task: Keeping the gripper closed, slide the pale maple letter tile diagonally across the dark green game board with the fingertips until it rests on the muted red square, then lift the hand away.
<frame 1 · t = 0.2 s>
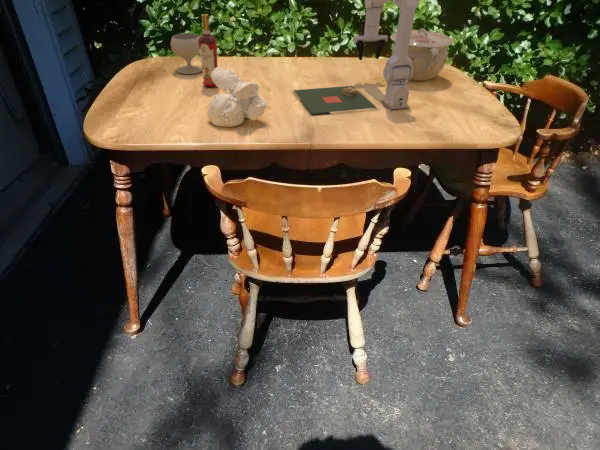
hand: (368, 58, 202), 10 cm above the table, tool pointing down, fingers open, 7 cm apart
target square: (331, 101, 187), resting on game board
letter tile: (349, 94, 192), point 1 cm above the table, touching game board
chamber pot: (415, 76, 216), on the table
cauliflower: (238, 120, 170), on the table
liquor: (211, 86, 200), on the table
chalice: (189, 71, 216), on the table
game board: (333, 100, 188), on the table
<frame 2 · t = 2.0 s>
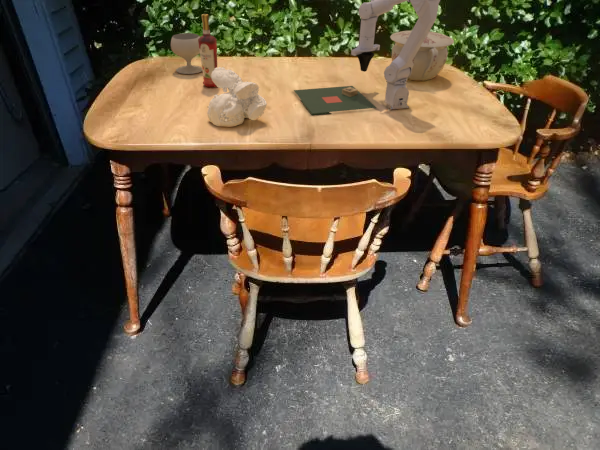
hand: (363, 70, 191), 9 cm above the table, tool pointing down, fingers closed
nothing on the table moved.
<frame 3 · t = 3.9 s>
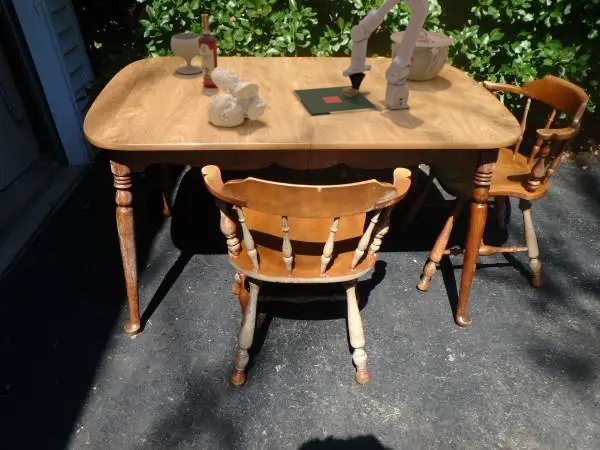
hand: (355, 90, 194), 2 cm above the table, tool pointing down, fingers closed
letter tile: (349, 94, 192), point 1 cm above the table, touching game board, gripper
everything else where it was.
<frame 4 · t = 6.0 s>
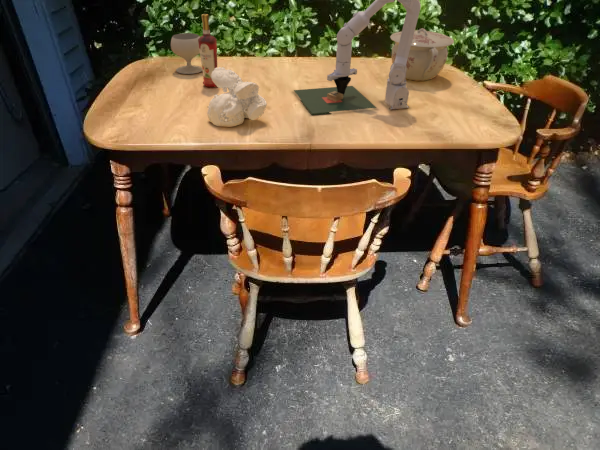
hand: (340, 95, 189), 2 cm above the table, tool pointing down, fingers closed
letter tile: (335, 98, 187), point 1 cm above the table, touching gripper
everything else where it was.
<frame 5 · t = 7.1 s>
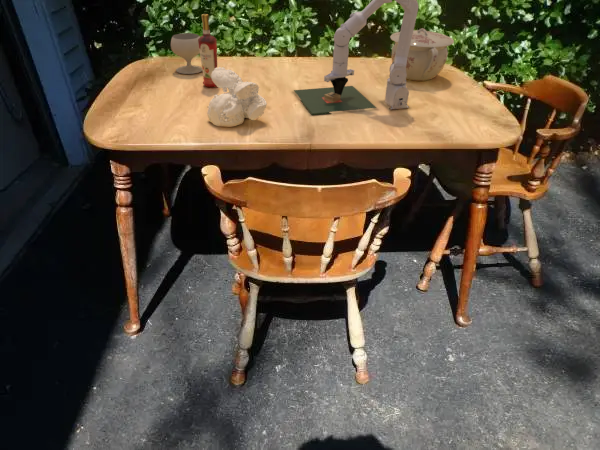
hand: (338, 96, 188), 2 cm above the table, tool pointing down, fingers closed
letter tile: (332, 99, 187), point 1 cm above the table, touching gripper, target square
everything else where it was.
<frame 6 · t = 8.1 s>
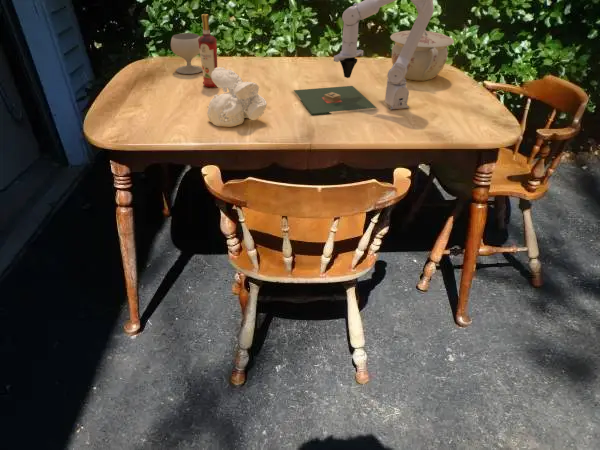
hand: (347, 77, 187), 8 cm above the table, tool pointing down, fingers closed
letter tile: (332, 99, 187), point 1 cm above the table, touching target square
everything else where it was.
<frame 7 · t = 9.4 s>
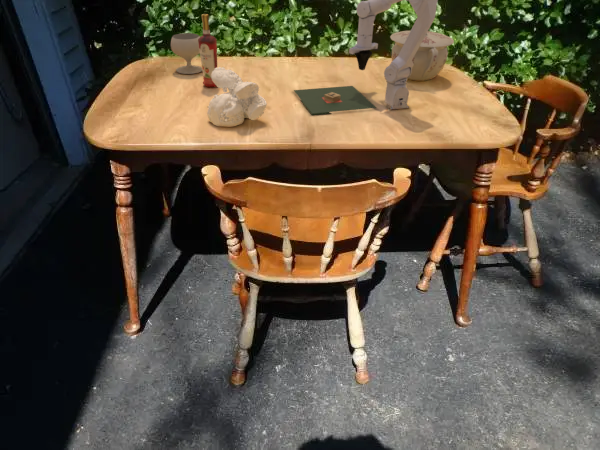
hand: (361, 69, 192), 9 cm above the table, tool pointing down, fingers closed
nothing on the table moved.
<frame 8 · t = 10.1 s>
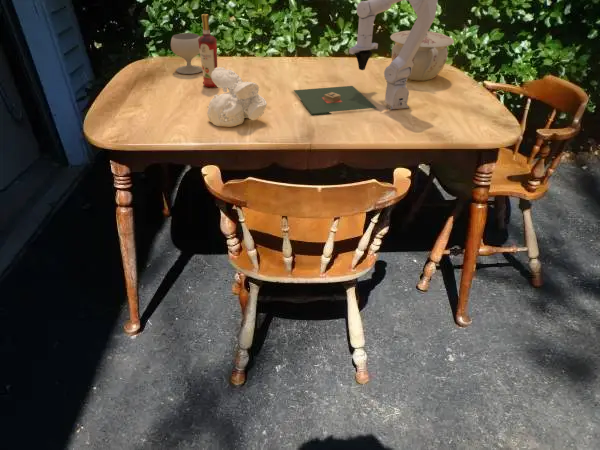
hand: (361, 69, 192), 9 cm above the table, tool pointing down, fingers closed
nothing on the table moved.
at the end: letter tile 0.2 cm from the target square (horizontally); letter tile tilted 0° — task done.
